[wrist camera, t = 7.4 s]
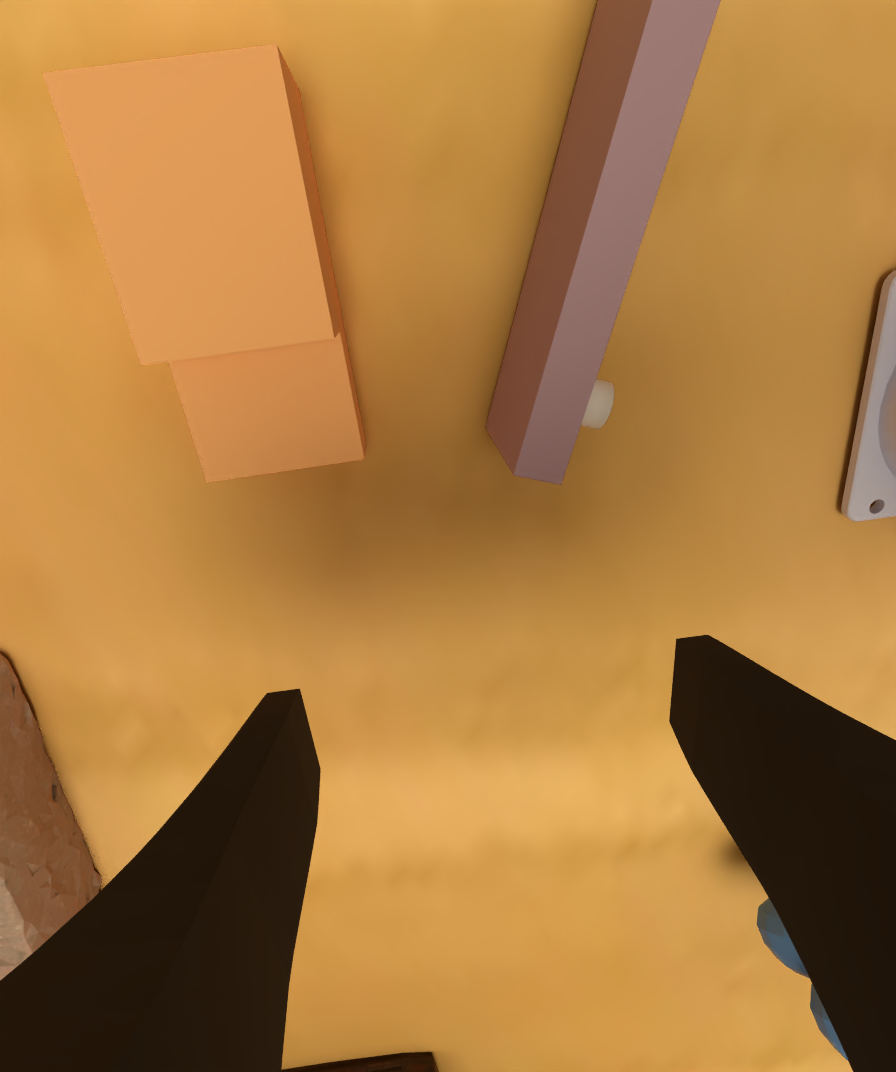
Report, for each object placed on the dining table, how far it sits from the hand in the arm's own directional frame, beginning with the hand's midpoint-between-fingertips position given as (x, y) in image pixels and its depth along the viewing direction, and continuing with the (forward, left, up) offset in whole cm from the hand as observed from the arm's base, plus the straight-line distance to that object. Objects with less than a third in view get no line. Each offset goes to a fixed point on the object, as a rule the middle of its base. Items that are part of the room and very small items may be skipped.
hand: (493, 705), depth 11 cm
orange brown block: (+5, -7, -9) cm, 13 cm away
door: (-5, -9, -9) cm, 13 cm away
